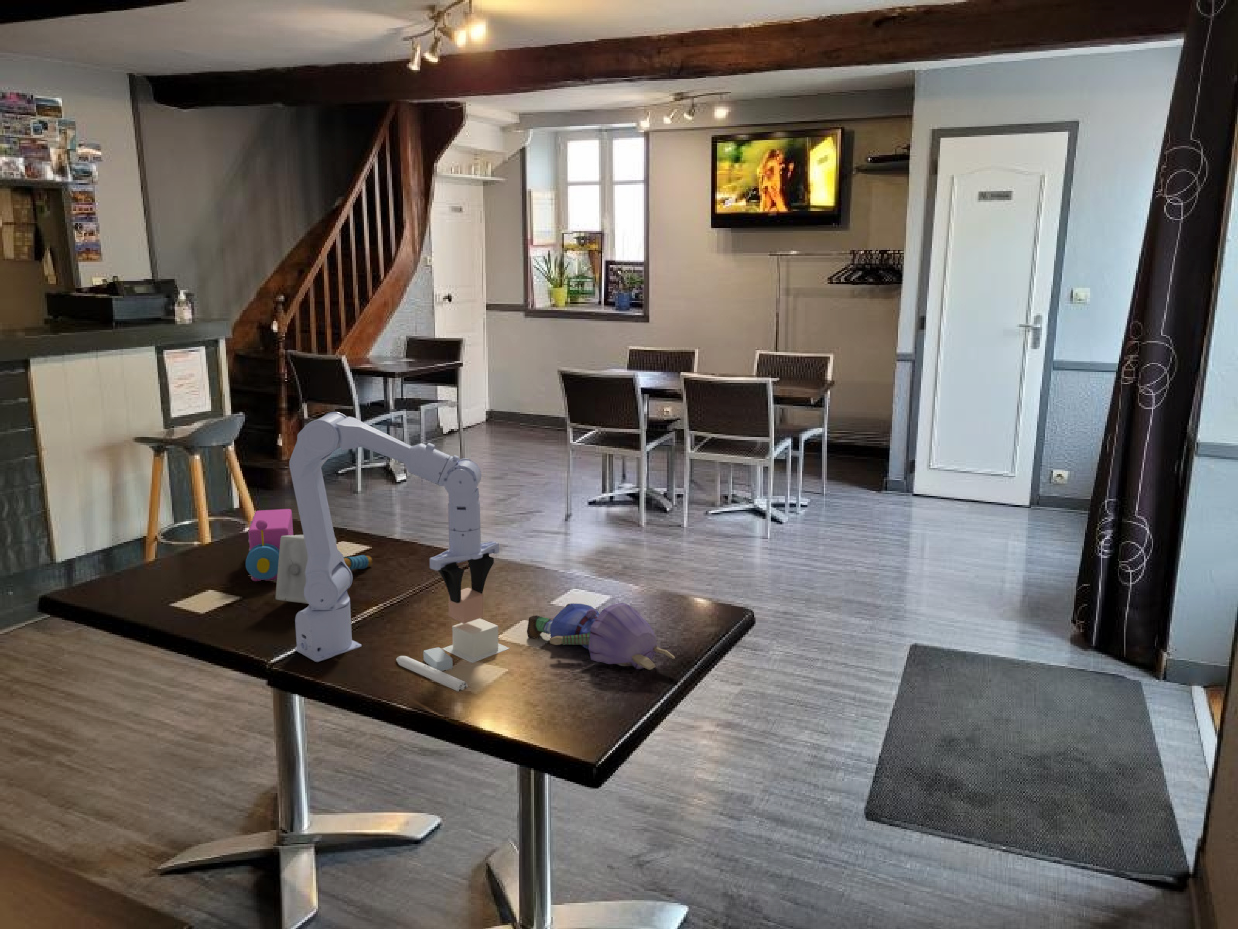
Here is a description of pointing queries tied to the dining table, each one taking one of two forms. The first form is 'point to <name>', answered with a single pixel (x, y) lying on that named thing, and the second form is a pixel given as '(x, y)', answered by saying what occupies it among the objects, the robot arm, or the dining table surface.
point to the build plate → (472, 660)
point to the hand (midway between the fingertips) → (466, 597)
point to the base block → (475, 637)
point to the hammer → (301, 568)
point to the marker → (431, 673)
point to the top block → (467, 606)
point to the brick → (438, 659)
